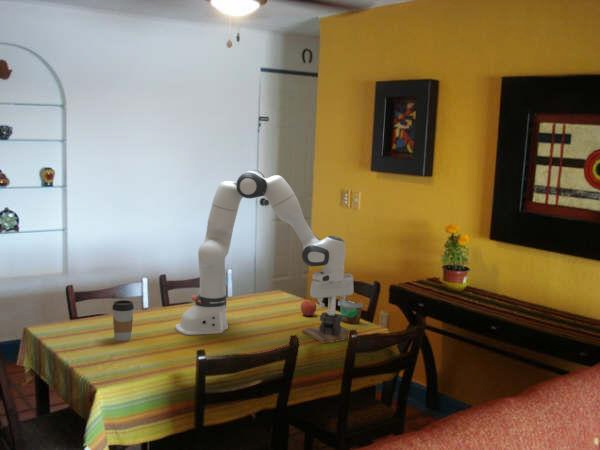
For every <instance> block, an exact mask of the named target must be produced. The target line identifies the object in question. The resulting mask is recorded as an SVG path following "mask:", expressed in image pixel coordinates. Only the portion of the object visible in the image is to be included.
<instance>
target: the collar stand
mask: <svg viewBox="0 0 600 450" xmlns="http://www.w3.org/2000/svg"><path fill="white" fill-rule="evenodd" d="M319 315H320V316H319V321H320V322H321V324H320V325H319V326H313V327H308V328H302V331H301V332H302V334H304V333H305V334H304V335H306V334H307V335H306V336H308V335H309V336H308V337H310V336H311V337H310V338H312V337H313V338H312V339H314V340H315V339H316V341H317V340H318V341H317V342H319V341H320V342H319V343H321V342H322V343H321V344H324V343H323V342H329V343H332V342H331V341H336V340H342V339H343V340H342V341H346V340H345V339H348V334H349V331H351V330H350V329H348V328H346V327H344V326H341V323H342V322H341V321H342V316H341V314H339V313H335V318H330V317H327V315H328V312H327V311H326V312H321V314H319ZM327 323H331V324H333V328H327ZM336 342H337V341H336Z"/></svg>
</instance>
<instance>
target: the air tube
mask: <svg viewBox="0 0 600 450" xmlns="http://www.w3.org/2000/svg"><path fill="white" fill-rule="evenodd" d="M327 303H328V304H327V313H328V315H327V317H330V318H335V314H336V307H337V306H336V305H337V296H333V297H328V302H327ZM327 328H333V324H331V323H327Z"/></svg>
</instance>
